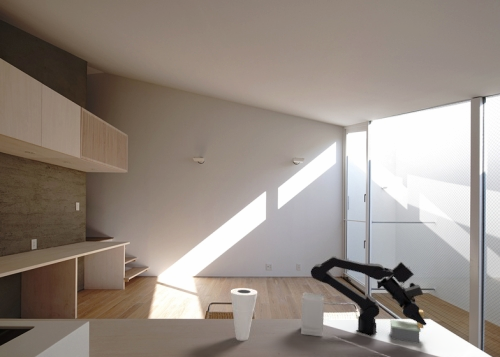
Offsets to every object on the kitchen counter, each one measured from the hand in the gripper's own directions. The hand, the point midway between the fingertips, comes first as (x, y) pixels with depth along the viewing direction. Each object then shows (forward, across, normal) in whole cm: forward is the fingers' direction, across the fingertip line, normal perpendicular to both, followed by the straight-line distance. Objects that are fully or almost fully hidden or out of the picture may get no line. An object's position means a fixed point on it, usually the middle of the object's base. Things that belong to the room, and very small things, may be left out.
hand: (423, 320), depth 143 cm
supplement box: (-25, -9, +37) cm, 45 cm away
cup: (-42, -28, +54) cm, 74 cm away
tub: (+1, 0, +11) cm, 11 cm away
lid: (-2, 0, +7) cm, 8 cm away
